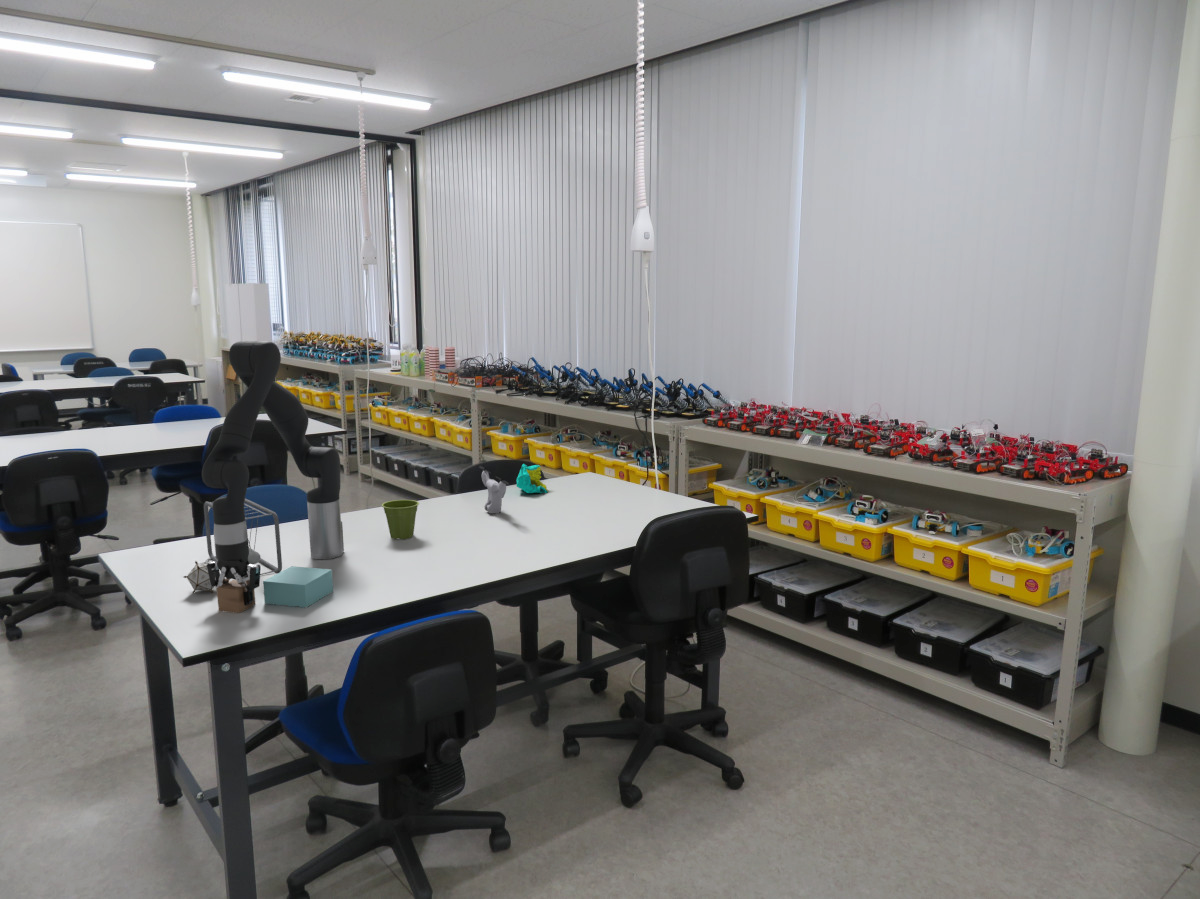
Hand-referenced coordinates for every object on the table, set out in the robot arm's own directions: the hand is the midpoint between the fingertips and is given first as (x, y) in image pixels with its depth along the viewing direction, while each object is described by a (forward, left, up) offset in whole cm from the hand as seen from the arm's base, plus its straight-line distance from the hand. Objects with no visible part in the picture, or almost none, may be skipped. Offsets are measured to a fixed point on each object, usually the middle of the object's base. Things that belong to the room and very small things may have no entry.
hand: (236, 603), depth 199 cm
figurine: (-102, +29, -1) cm, 106 cm away
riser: (-10, +11, -1) cm, 15 cm away
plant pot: (-66, +11, -1) cm, 67 cm away
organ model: (-136, +31, -1) cm, 140 cm away
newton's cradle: (-29, -20, -1) cm, 35 cm away
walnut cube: (0, 0, -1) cm, 1 cm away
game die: (-8, -16, -1) cm, 18 cm away
